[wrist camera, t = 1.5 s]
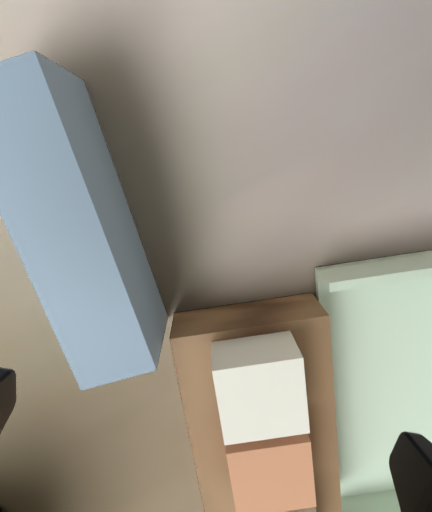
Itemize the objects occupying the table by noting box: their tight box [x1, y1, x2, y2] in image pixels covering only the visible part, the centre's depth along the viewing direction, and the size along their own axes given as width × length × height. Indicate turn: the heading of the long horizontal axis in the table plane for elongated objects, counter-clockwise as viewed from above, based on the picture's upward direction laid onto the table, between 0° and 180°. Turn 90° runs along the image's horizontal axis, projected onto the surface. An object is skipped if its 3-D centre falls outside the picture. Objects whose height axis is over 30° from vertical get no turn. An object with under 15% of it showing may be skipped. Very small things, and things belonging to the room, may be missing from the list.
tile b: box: [225, 434, 317, 512], centre depth 19 cm, size 4×4×2 cm
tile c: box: [211, 331, 310, 445], centre depth 18 cm, size 4×4×2 cm
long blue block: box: [0, 51, 168, 391], centre depth 17 cm, size 4×13×6 cm, turn 16°
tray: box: [315, 250, 432, 512], centre depth 21 cm, size 9×17×4 cm, turn 8°
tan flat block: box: [169, 293, 342, 512], centre depth 21 cm, size 8×14×3 cm, turn 8°
